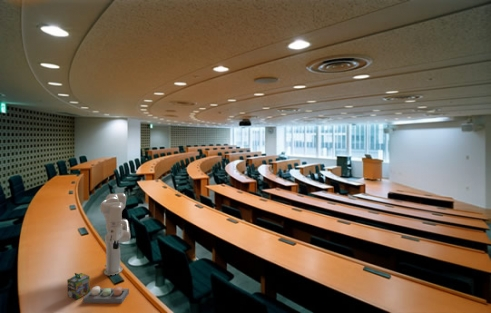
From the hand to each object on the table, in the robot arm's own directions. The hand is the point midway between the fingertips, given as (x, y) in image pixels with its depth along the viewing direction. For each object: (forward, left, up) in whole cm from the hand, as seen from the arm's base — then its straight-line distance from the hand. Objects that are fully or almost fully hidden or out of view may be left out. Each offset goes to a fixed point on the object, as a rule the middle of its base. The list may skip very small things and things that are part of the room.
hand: (115, 248), depth 167 cm
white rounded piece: (+1, -14, -25) cm, 29 cm away
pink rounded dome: (+13, -8, -25) cm, 29 cm away
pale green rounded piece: (+7, -11, -26) cm, 29 cm away
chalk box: (-12, -18, -27) cm, 35 cm away
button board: (+7, -11, -27) cm, 30 cm away
